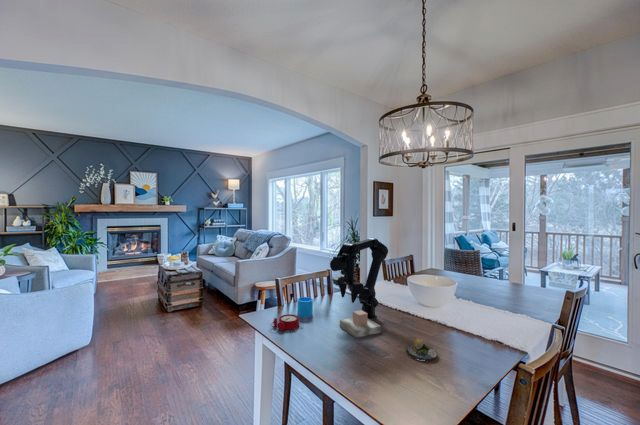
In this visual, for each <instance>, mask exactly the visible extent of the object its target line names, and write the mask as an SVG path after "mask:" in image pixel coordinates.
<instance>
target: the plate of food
mask: <svg viewBox="0 0 640 425" xmlns="http://www.w3.org/2000/svg"><path fill="white" fill-rule="evenodd" d="M414 338H415V340H414V341H413V343H412V344H409V345H408V346H406V350H405V353H406V355H407V356H410V359H413V358H414V359H413V360H415V359H419V360H425V361H431V360H433V359H436V357H437V356H439V355H438V351H437V350H436V349H434V348H433V347H431V346H429V345H427V344H426V343H424V340H423V339H422V338H417V337H416V336H415V337H414Z"/></svg>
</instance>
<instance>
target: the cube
mask: <svg viewBox="0 0 640 425" xmlns="http://www.w3.org/2000/svg"><path fill="white" fill-rule="evenodd" d="M352 318H353V322H354V323H355V324H357V325H358V326H360V325H365V324H367V318H368V313H366V312H364V311H362V309H360V310H353V311H352Z"/></svg>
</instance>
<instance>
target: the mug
mask: <svg viewBox="0 0 640 425" xmlns="http://www.w3.org/2000/svg"><path fill="white" fill-rule="evenodd" d="M313 302H314V299H313V298H312V297H309V296H302V297H299V298H297V311H296V312H297V315H296V316H298V317H300V318H309V317H312V316H313V314H314V313H313V311H314V310H313V309H314V306H313V305H314V304H313Z"/></svg>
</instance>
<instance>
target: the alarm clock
mask: <svg viewBox="0 0 640 425" xmlns="http://www.w3.org/2000/svg"><path fill="white" fill-rule="evenodd" d="M278 320H279V321H278ZM299 321H300V319H299V316H298V315H296V314H284V315H280V316H279V318H277V317H274V318H273V321H272V322H271V323H270V326H271V327H272V328H277V329H278V331H281V332H283V331H292V330H296V329H298V328H299V327H300V322H299ZM272 324H273V325H272Z"/></svg>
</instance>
